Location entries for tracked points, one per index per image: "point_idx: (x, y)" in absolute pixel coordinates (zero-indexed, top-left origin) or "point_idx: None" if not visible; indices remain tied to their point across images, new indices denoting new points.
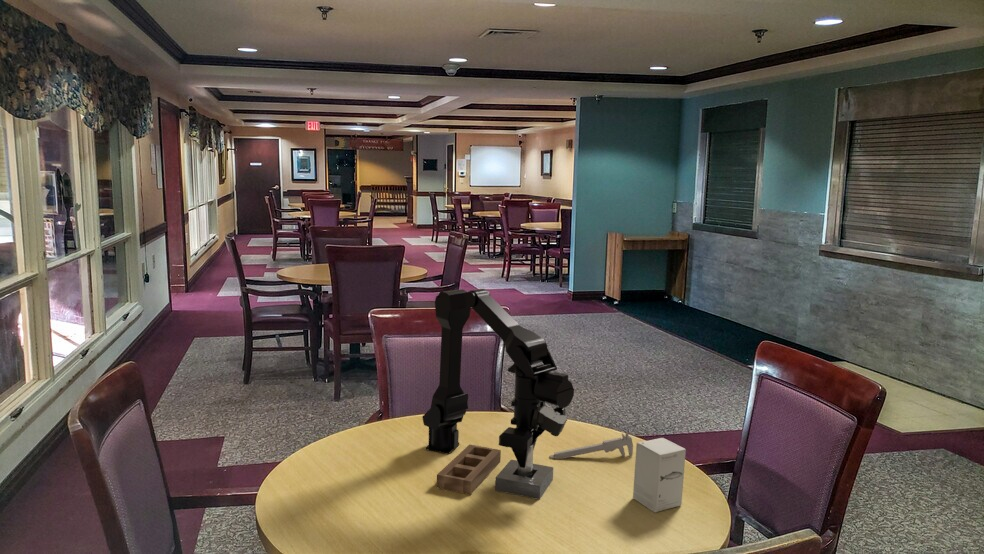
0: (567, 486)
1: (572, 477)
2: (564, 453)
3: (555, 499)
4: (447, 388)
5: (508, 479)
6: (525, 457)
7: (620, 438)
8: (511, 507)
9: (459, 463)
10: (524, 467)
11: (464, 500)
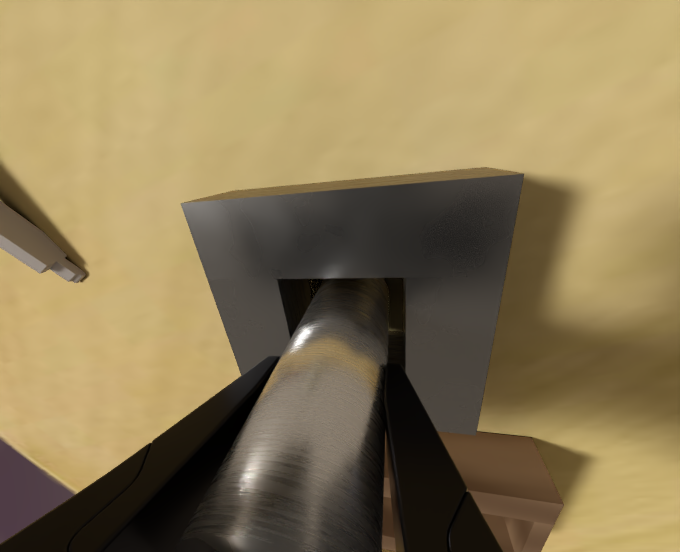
0: (244, 76)
1: (137, 101)
2: (4, 230)
3: (447, 67)
4: None
5: (480, 383)
6: (454, 466)
7: None
8: (632, 275)
9: (383, 526)
10: (401, 365)
11: (589, 446)
